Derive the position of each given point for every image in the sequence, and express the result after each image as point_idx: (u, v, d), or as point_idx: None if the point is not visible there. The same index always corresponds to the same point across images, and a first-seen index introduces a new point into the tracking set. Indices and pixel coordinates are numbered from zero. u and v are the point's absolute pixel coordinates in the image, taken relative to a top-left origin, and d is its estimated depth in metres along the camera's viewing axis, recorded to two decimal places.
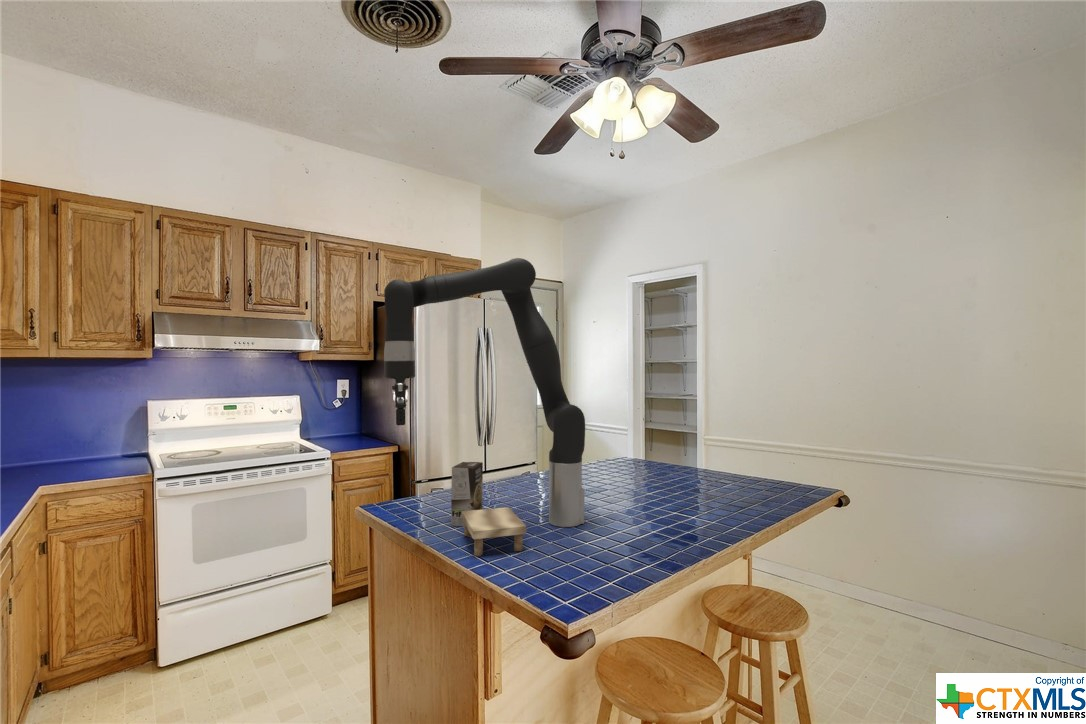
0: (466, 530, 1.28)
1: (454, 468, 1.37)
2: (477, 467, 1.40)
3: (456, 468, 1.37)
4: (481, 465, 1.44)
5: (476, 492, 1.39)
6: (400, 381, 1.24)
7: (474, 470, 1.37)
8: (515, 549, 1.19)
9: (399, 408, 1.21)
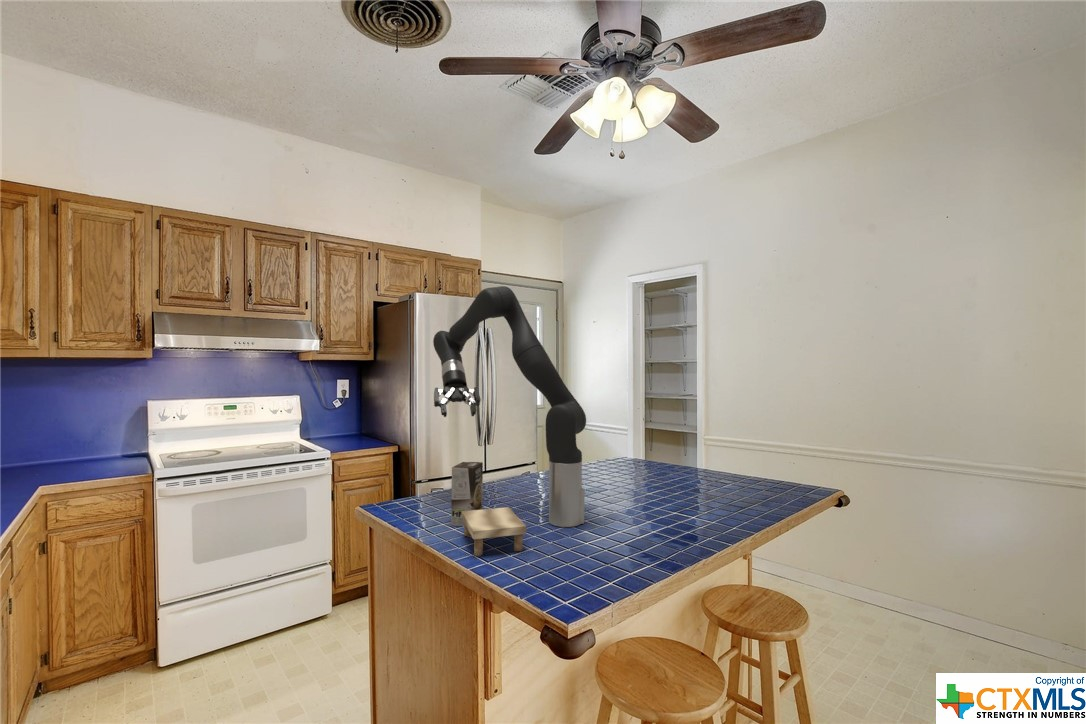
0: (466, 530, 1.28)
1: (454, 468, 1.37)
2: (477, 467, 1.40)
3: (456, 468, 1.37)
4: (481, 465, 1.44)
5: (476, 492, 1.39)
6: (443, 389, 1.60)
7: (474, 470, 1.37)
8: (515, 549, 1.19)
9: (437, 405, 1.55)
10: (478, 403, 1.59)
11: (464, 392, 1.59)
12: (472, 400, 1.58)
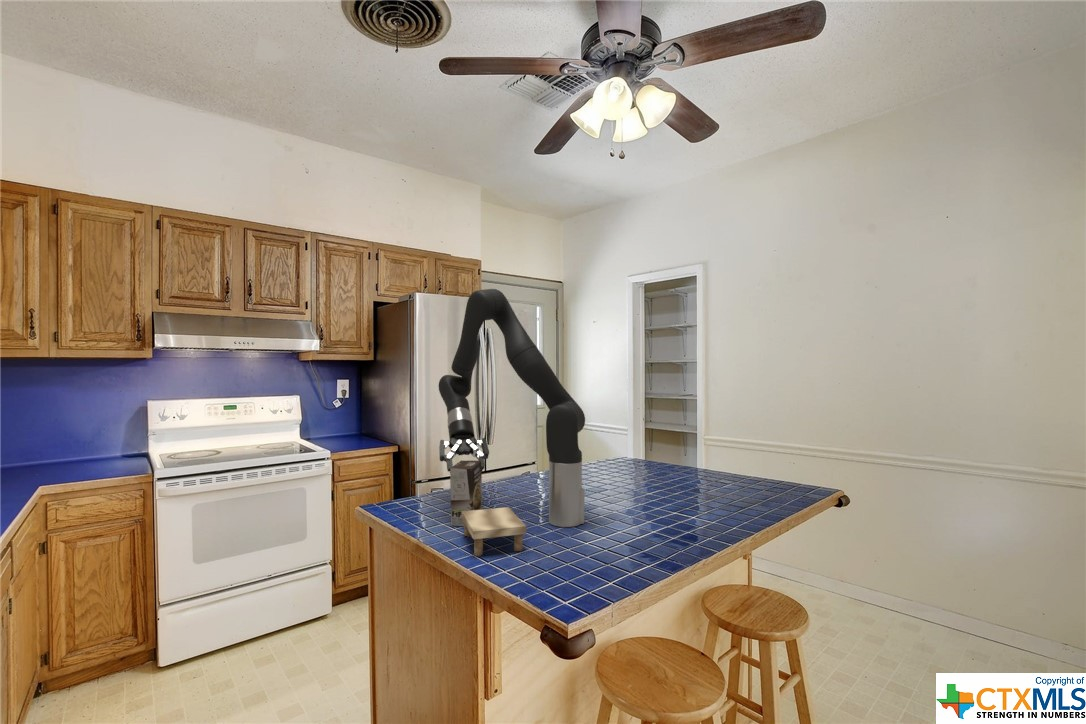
0: (466, 530, 1.28)
1: (452, 469, 1.36)
2: (476, 467, 1.39)
3: (454, 469, 1.36)
4: (480, 464, 1.42)
5: (475, 492, 1.38)
6: (450, 440, 1.49)
7: (473, 471, 1.36)
8: (515, 549, 1.19)
9: (443, 460, 1.44)
10: (487, 456, 1.48)
11: (472, 444, 1.48)
12: (480, 453, 1.47)
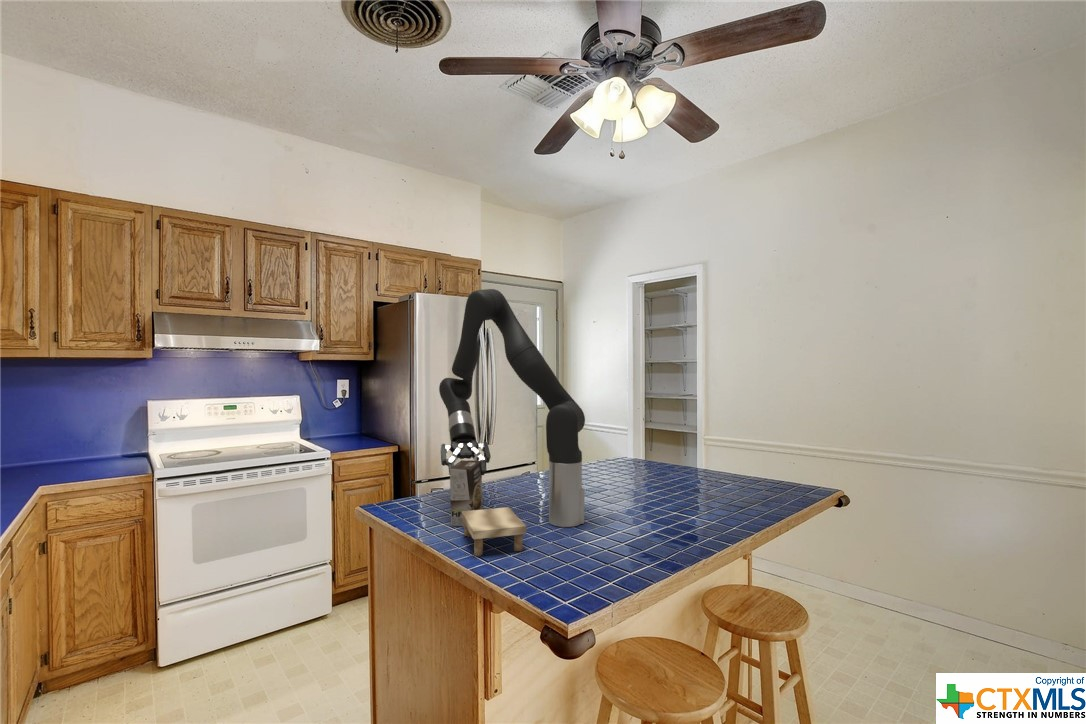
0: (466, 530, 1.28)
1: (452, 469, 1.36)
2: (475, 467, 1.38)
3: (454, 469, 1.36)
4: (480, 464, 1.42)
5: (475, 492, 1.38)
6: (451, 444, 1.48)
7: (472, 471, 1.36)
8: (515, 549, 1.19)
9: (445, 464, 1.43)
10: (488, 460, 1.47)
11: (473, 448, 1.47)
12: (481, 457, 1.46)
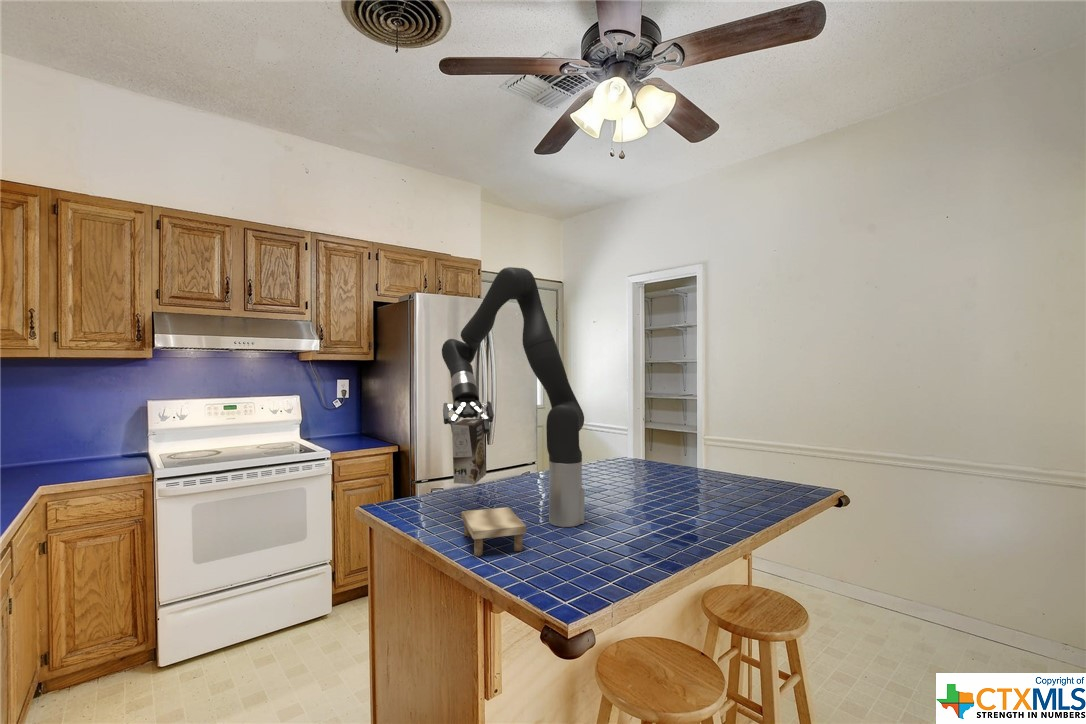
0: (466, 530, 1.28)
1: (454, 425, 1.33)
2: (478, 424, 1.36)
3: (456, 425, 1.33)
4: (483, 422, 1.40)
5: (478, 449, 1.36)
6: None
7: (475, 427, 1.33)
8: (515, 549, 1.19)
9: (447, 422, 1.41)
10: (491, 419, 1.44)
11: (476, 407, 1.44)
12: (484, 416, 1.43)
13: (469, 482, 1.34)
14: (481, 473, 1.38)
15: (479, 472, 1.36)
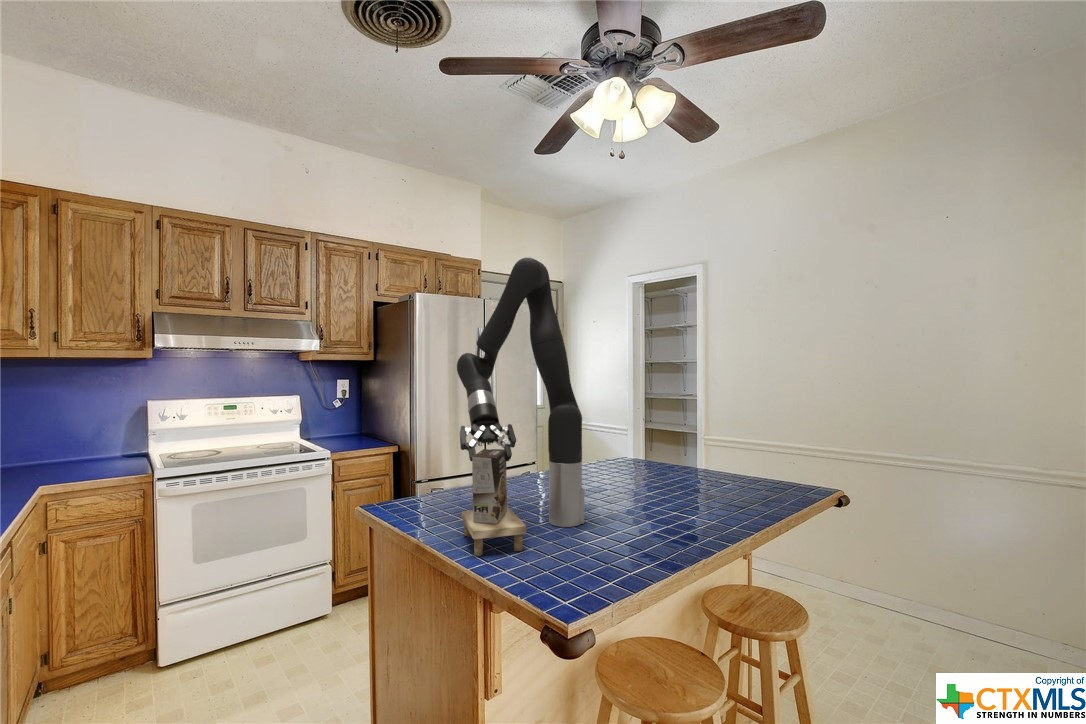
0: (466, 530, 1.28)
1: (475, 458, 1.20)
2: (501, 456, 1.23)
3: (477, 458, 1.20)
4: (504, 453, 1.26)
5: (500, 484, 1.22)
6: None
7: (498, 460, 1.20)
8: (515, 549, 1.19)
9: (465, 448, 1.27)
10: (513, 444, 1.31)
11: (496, 431, 1.30)
12: (506, 441, 1.29)
13: (491, 521, 1.20)
14: (503, 511, 1.24)
15: (501, 510, 1.23)
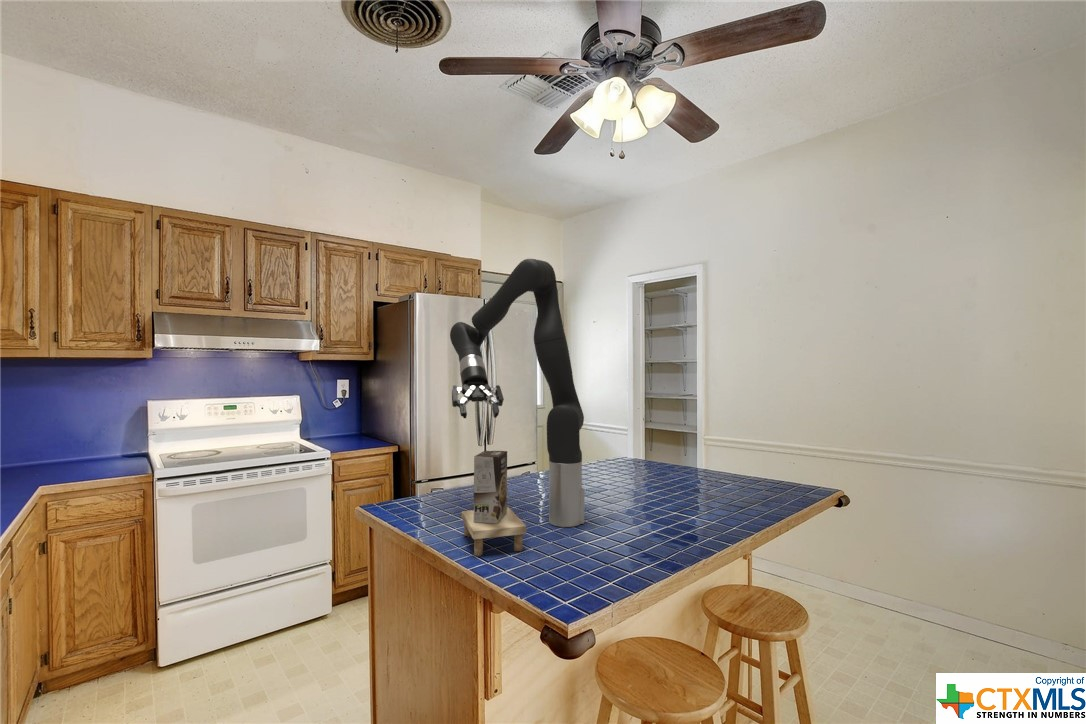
0: (466, 530, 1.28)
1: (477, 457, 1.21)
2: (502, 456, 1.24)
3: (479, 457, 1.21)
4: (506, 454, 1.27)
5: (501, 484, 1.23)
6: (462, 387, 1.43)
7: (500, 459, 1.21)
8: (515, 549, 1.19)
9: (456, 405, 1.39)
10: (501, 403, 1.42)
11: (485, 391, 1.42)
12: (494, 399, 1.41)
13: (491, 521, 1.20)
14: (503, 512, 1.24)
15: (501, 510, 1.23)
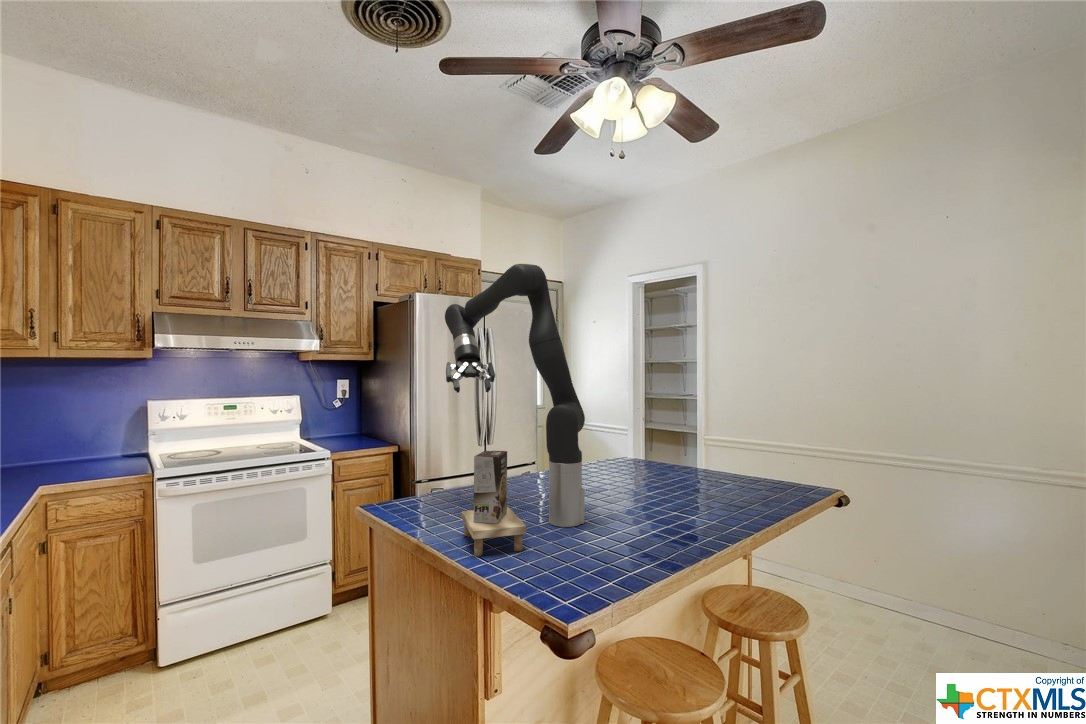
0: (466, 530, 1.28)
1: (477, 457, 1.21)
2: (502, 456, 1.24)
3: (479, 457, 1.21)
4: (506, 454, 1.27)
5: (501, 484, 1.23)
6: (456, 364, 1.50)
7: (500, 459, 1.21)
8: (515, 549, 1.19)
9: (450, 380, 1.46)
10: (493, 379, 1.49)
11: (478, 367, 1.49)
12: (486, 375, 1.48)
13: (491, 521, 1.20)
14: (503, 512, 1.24)
15: (501, 510, 1.23)
